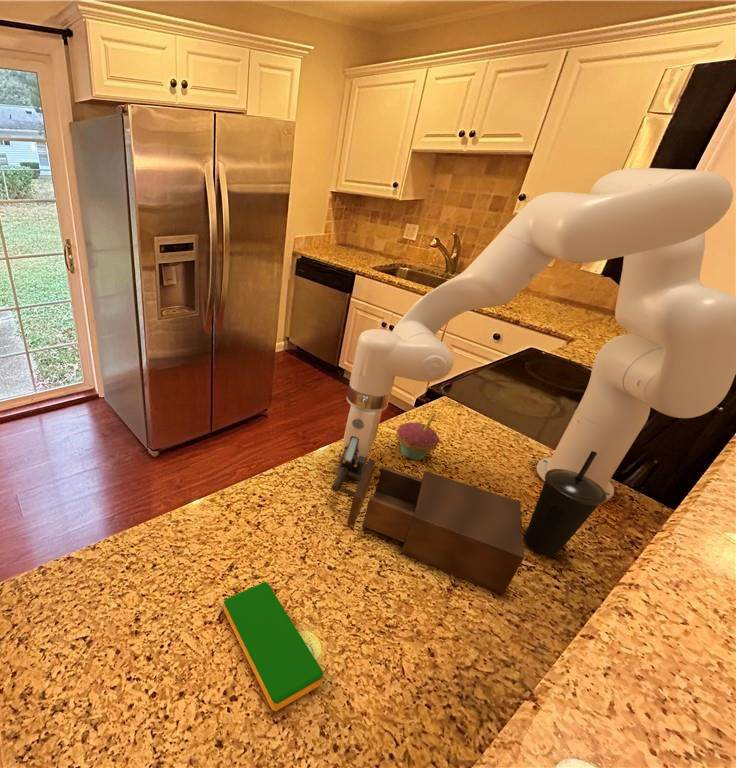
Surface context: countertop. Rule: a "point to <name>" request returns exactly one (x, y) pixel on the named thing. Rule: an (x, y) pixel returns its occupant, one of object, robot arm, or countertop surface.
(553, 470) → the drinking cup
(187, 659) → the countertop surface
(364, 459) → the block
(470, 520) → the cabinet
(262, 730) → the countertop surface
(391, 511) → the drawer
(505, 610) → the countertop surface
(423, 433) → the cupcake
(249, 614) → the dish sponge
